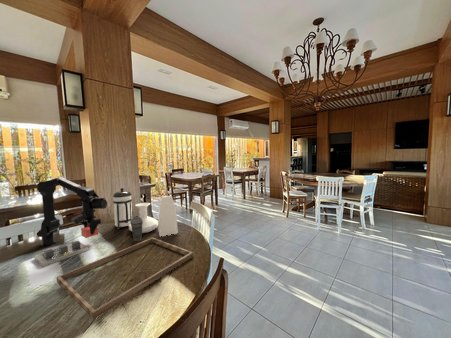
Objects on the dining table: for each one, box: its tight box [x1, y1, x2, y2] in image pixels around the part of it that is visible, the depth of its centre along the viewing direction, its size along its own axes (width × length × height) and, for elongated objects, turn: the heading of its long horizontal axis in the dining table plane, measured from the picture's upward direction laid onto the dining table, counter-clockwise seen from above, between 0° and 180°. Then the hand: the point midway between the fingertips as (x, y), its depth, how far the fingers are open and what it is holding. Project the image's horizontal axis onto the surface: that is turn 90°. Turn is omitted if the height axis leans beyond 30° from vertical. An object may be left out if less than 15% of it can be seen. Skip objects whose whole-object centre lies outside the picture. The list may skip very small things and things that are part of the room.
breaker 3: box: [71, 240, 81, 249], centre depth 112 cm, size 3×3×3 cm
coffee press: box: [112, 187, 133, 231], centre depth 149 cm, size 17×16×30 cm
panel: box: [34, 242, 89, 268], centre depth 108 cm, size 13×20×2 cm, turn 146°
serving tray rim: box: [56, 236, 194, 320], centre depth 94 cm, size 35×48×2 cm
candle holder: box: [128, 202, 159, 234], centre depth 142 cm, size 20×20×19 cm
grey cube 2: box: [58, 244, 68, 254], centre depth 107 cm, size 3×3×3 cm
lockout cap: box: [80, 226, 99, 239], centre depth 121 cm, size 7×7×5 cm
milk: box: [157, 195, 179, 238], centre depth 138 cm, size 12×12×26 cm
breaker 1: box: [43, 248, 54, 258], centre depth 102 cm, size 3×3×3 cm
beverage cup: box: [131, 209, 143, 242], centre depth 126 cm, size 7×7×20 cm
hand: (89, 233), depth 121 cm, fingers closed on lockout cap, 7 cm apart
